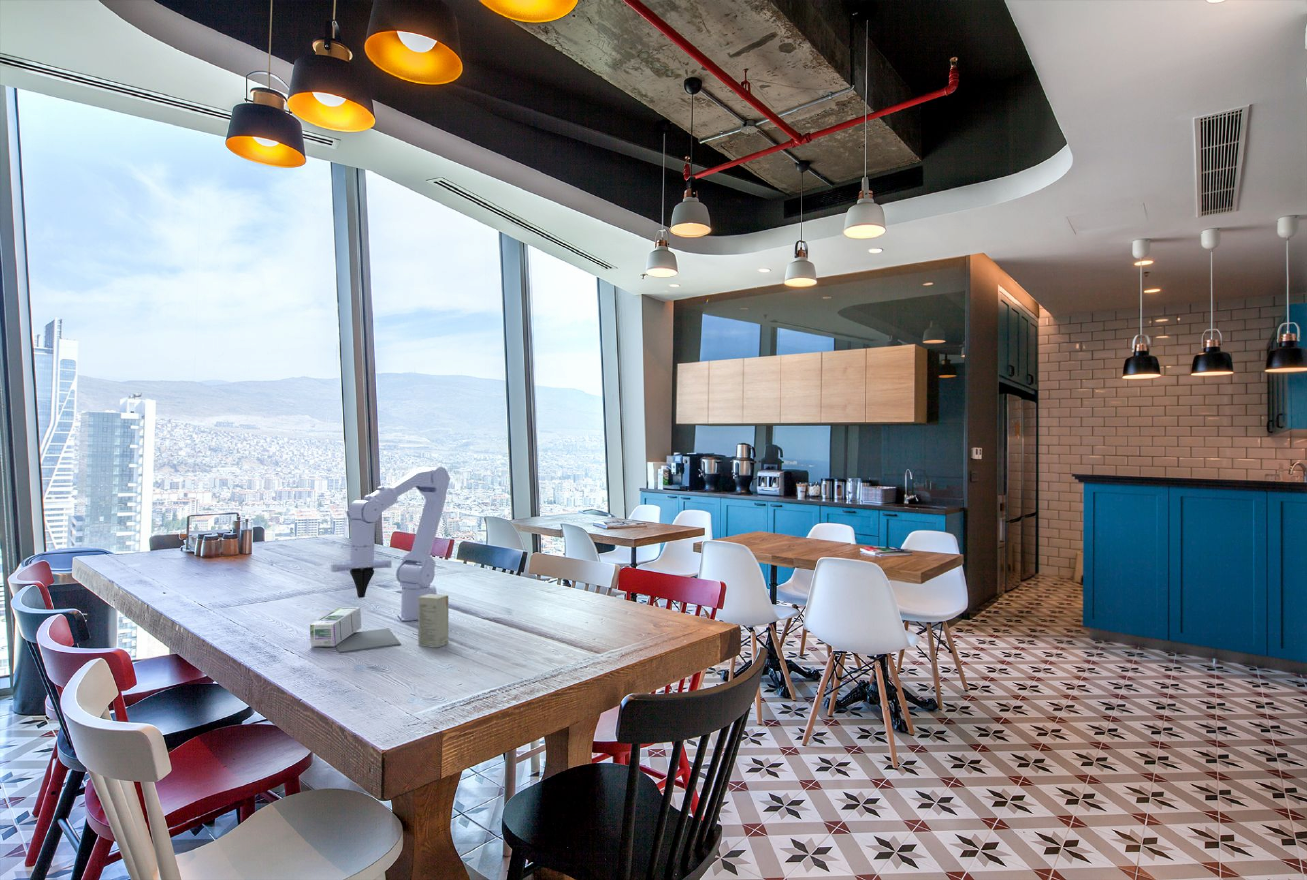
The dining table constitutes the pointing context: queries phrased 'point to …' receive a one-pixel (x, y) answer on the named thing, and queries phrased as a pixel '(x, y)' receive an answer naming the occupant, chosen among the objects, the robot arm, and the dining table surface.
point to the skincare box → (433, 620)
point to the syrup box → (335, 627)
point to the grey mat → (368, 640)
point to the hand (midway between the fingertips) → (361, 597)
